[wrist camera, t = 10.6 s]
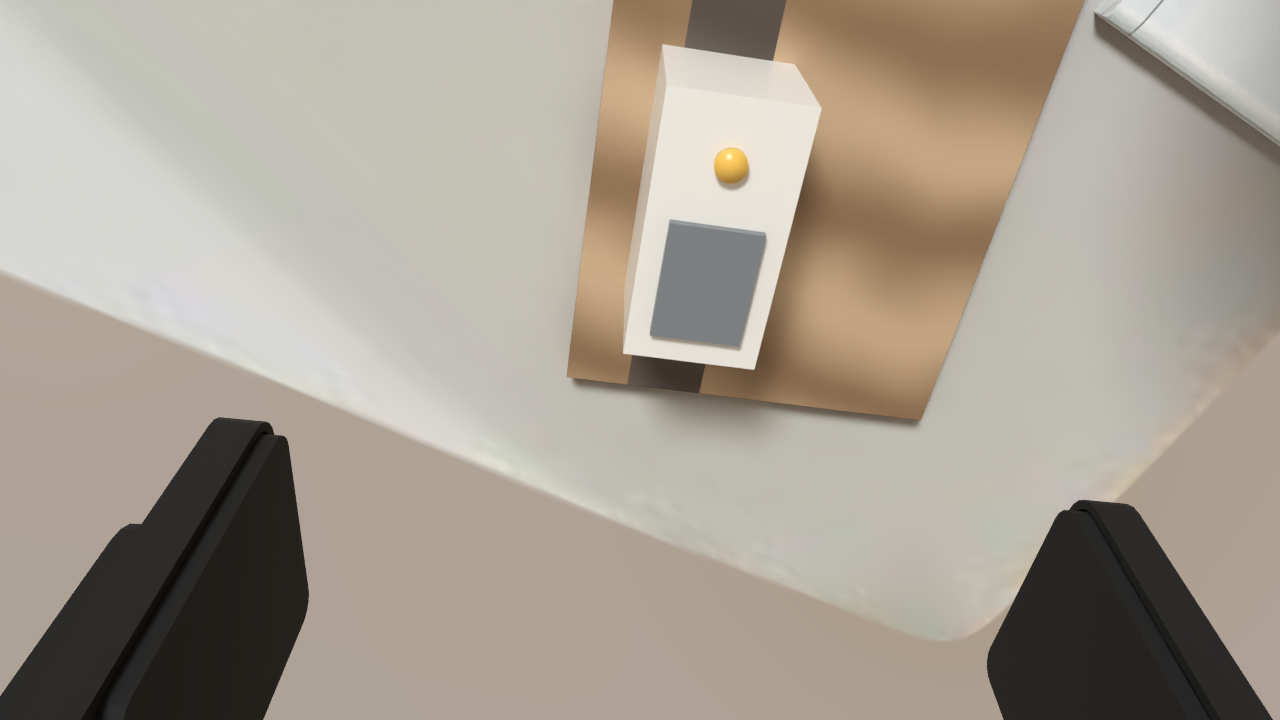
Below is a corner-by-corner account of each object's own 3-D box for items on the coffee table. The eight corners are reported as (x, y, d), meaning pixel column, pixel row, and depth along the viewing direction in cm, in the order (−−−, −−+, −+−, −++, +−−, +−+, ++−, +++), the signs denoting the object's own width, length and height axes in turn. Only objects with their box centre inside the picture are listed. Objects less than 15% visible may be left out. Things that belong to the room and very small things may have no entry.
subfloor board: (628, -120, 28) (628, -117, 27) (1085, -43, 29) (1099, -38, 28) (568, 363, 37) (566, 377, 36) (914, 406, 38) (920, 420, 38)
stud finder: (662, 44, 29) (666, 87, 25) (795, 64, 30) (823, 111, 25) (624, 285, 34) (622, 358, 30) (739, 300, 34) (755, 374, 30)
